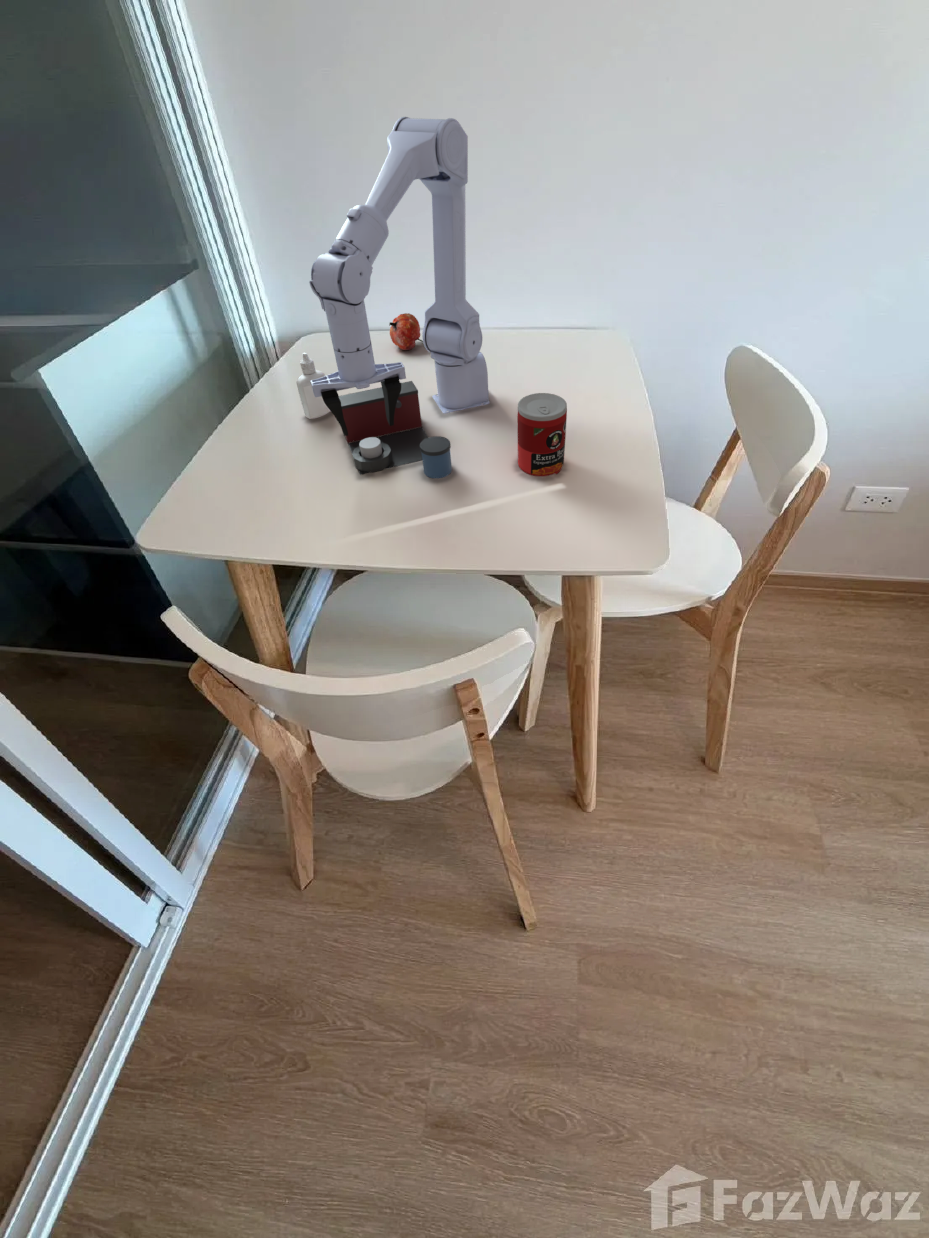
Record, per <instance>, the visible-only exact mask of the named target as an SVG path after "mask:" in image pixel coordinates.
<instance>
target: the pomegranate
mask: <svg viewBox="0 0 929 1238" xmlns="http://www.w3.org/2000/svg"><path fill="white" fill-rule="evenodd" d="M388 325H389V327H390V328H389V336H390V340H391V342H392V343H393V344H394V345H395V346H396V347H398V348H399V349H400V350H403V351H411V350H413V349H414V348H415V346H416V344H417V343H416V341H419V342H422V343H423V339H420V338H421V326H420V323H419V320H418V318H417V317H416V316H415V315H414V314H411V313H410V312H409V313H408V312H405V313H400V314H398V315H397V317H394V318H393V320H392V322H390V321H389V324H388Z"/></svg>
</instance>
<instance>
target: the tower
mask: <svg viewBox="0 0 929 1238" xmlns="http://www.w3.org/2000/svg"><path fill="white" fill-rule="evenodd" d="M400 383H401V392H400V395H399V397H398V400H397V403H396V408H395V414H394V425H393V426H390V425H389V423H388V421H387V417H386V410H385V400H384V395H383V390H382V386H380V387H376V388H375V387H374V388H372V389H365V390H361V391H357V392H352V393H347V394H342V395H338V396H339V399H340V401H341V406H342V412H343V417H344V421H345V424H346V427H347V430H348V436H344V438H345V440H346V443H347V444H348V443H352V442H356V441H361V440H363V439H365V438H369V437H379V436H383V435H388V434H392V433H397V432H401V431H406V430H410V429H415V428H419V427H423V423H422V416H421V407H420V399H419V398H420V397H419V390H418V388H417V386H416V385H415V383H414V381H413V380H409V381H404V382H400Z"/></svg>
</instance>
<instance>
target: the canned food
mask: <svg viewBox="0 0 929 1238" xmlns="http://www.w3.org/2000/svg"><path fill="white" fill-rule="evenodd" d="M516 417H517V420H516V421H517V425H516V426H517V427H516V428H517V464H518V467H519V469H520V470H521V472H524V473H525V474H526V475H530V476H534V477H548V476H552V475H558V474H559V473H560V472H561V471H562V468H563V466H564V462H565V449H566V434H567V433H566V432H567V418H568V404H567V401H566V400H565V399H564V398H563V397H561V396H560V395H558V394H555V393H549V392H537V393H531V394H528V395H526V396H524V397H522V398H521V399H520V400H518V402H517V415H516Z"/></svg>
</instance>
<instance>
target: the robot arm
mask: <svg viewBox="0 0 929 1238" xmlns="http://www.w3.org/2000/svg"><path fill="white" fill-rule="evenodd" d="M386 138H387V139H386V141H387V142H386V143H387V153H388V154H387V155H386V158H385V160H384V163H383V164H382V166H381V169H380V171H379V173H378V176H377V178H376V180H375V182H374V184H373V186H372V188H371V191H370V193H369V195H368V198H367V199H366V202H365V204H356V205H355V206H353V207H352V208H349V210H348V212H347V214H346V220H345V221H344V223H343V224H342V226H341V228H340V230H339V232H338V234H337V235H336V237H335V239H334V240H333V242H332V243H331V246H330V247H329V250H328V252H324V253H323V254H322V253H321V254H320V255H318V257H317V258H316V259H314V261H313V263H312V266H311V269H310V280H309V282H308V283H309V286H310V289H311V291H312V293H313V294H314V295H315V296H316V297H317V298H318V299H319V302H320V306H321V309H322V310H323V311H324V312H325V316H326V320H327V325H328V330H329V335H330V339H331V345H332V349H333V353H334V357H335V363H336V366H337V367H336V368H337V370H336V371H335V372H332V373H329V374H327V375H325V376H324V377H321V378H318V379H314V380H311V385H312V389H313V393H314V396H315V397H320V396H322V398H323V401H324V403H325V404H326V406H327V407H328V408H329V410H330V411H331V412H330V413H331V414H332V415H333V416H334V418H335V419H336V421H337V423H338V425H339V427H340V429H341V432H342V434H343V436H344V437H345V436H348V430H347V427H346V424H345V421H344V417H343V412H342V406H341V401H340V399H339V396H340V395H339V393H338V392H339V391H345V390H348V389H354V388H355V389H356V390H363V389H367V388H370V387H371V385H373V384H377V383H380V385H381V387H382V390H383V395H384V400H385V410H386V417H387V421H388V423H389V425H390V426H393V425H394V414H395V408H396V403H397V400H398V397H399V395H400V392H401V383H402V382H401V380H406V379H407V375H406V368H405V365H404V363H403V362H402V361H399V362H391V363H390V362H389V363H376V362H375V356H374V351H373V344H372V340H371V339H372V338H371V332H370V327H369V321H368V315H367V310H366V302H365V298H366V297H367V296H368V295H369V292H370V287H371V276H372V274H373V269H374V267H373V265H374V263H375V261H376V259H377V257H378V256H379V254H380V252H381V250H382V248H383V247H384V245H385V243H386V242H387V239H388V237H389V233H390V231H389V226H388V220H389V218H390V217H391V215H392V214H393V212H394V211H395V209H396V208H397V206H398V205H399V203H400V202H401V200H402V199H403V197H404V195H406V193H407V192H408V190H409V189H410V187H411V185H412V184H413V183H414V181H416V180H420V182H421V183H422V184H423V185H424V186H425V188H426V189H427V190H428V191H429V192H430V194H431V205H432V206H431V215H432V239H433V240H432V241H433V242H432V243H433V272H434V274H433V275H434V276H433V278H434V302H433V303H432V304H431V305H430V306H428V307H427V308H426V310H425V311H424V324H423V328H422V334H421V338H422V339H421V340H422V341H423V342H422V343H423V347H424V349H425V350H426V351H427V352H428V353H430V358H431V359H433V360H434V369H435V379H436V390H437V394H433V395H432V396H431V397H432V399H433V400H434V402H435V403H436V405H437V406H438V408H439V410H440V411H441V413H442V414H450V413H453V412H454V413H455V412H459V411H463V410H467V409H473V408H476V407H477V408H478V407H482V406H486V405H489V404H490V403H491V401H489V375H488V374H489V373H488V366H487V361H486V358H485V356H484V353H482V352H481V349H482V347H483V332H482V329H481V324H480V313H479V312H478V311H477V310H476V309H475V308H474V306H472V305H471V303H470V302H469V301H468V300H467V296H466V295H467V293H466V292H467V291H466V289H467V288H466V287H467V286H466V283H467V281H466V280H467V279H466V278H467V277H466V270H467V269H466V258H467V257H466V256H467V255H466V251H467V250H466V248H467V247H466V246H467V245H466V242H467V241H466V185H467V184H468V182H469V177H468V175H469V165H468V163H469V162H468V160H469V159H468V157H469V156H468V153H469V150H468V149H469V148H468V147H469V144H468V143H469V140H468V139H469V136H468V134H467V133H466V131H465V130H464V127H462V125H461V124H460V122H459V120H457V119H456V118H452V117H449V118H446V119H445V118H417V117H416V118H415V117H408V116H401V117H399V118H397V120H395V123H394V124H393V128H392V130H391V132H389V134H388V135H387V137H386Z"/></svg>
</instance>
